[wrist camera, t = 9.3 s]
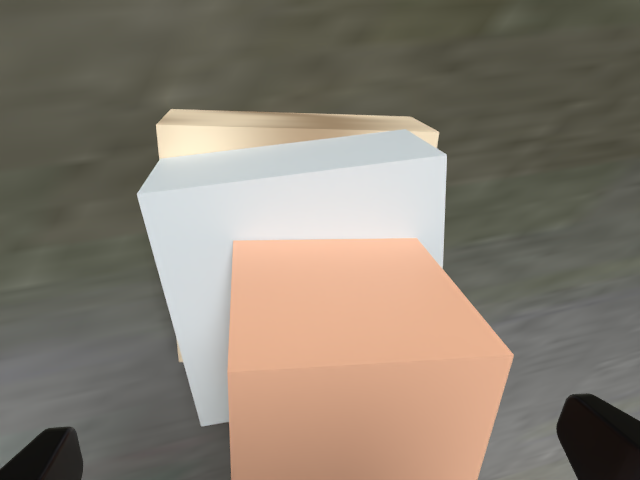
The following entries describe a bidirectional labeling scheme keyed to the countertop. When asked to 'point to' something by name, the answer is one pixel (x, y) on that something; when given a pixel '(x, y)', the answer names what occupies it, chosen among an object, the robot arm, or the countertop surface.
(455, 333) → the terracotta cube
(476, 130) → the countertop surface
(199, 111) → the oak base slab
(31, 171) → the countertop surface
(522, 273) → the countertop surface
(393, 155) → the grey-blue top slab
